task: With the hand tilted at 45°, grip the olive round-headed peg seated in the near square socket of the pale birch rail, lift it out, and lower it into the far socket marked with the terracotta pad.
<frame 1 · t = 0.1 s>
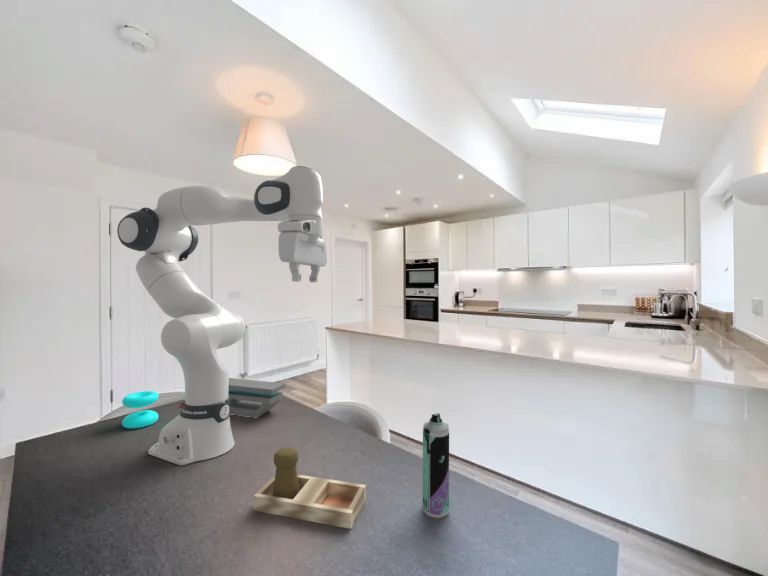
hand: (305, 281, 88), 48 cm above the table, tool pointing down, fingers open, 8 cm apart
socket rail: (311, 504, 71), on the table
spray can: (435, 510, 70), on the table
olive round-headed peg: (286, 500, 73), resting in socket rail
grey lidded container: (249, 413, 123), on the table
donuts: (140, 424, 113), on the table
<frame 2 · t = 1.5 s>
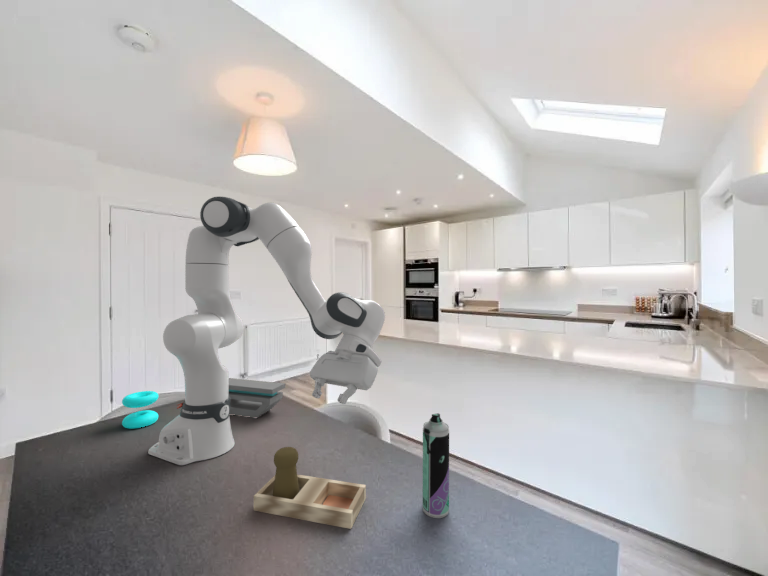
hand: (327, 399, 82), 19 cm above the table, tool tilted 45°, fingers open, 8 cm apart
nothing on the table moved.
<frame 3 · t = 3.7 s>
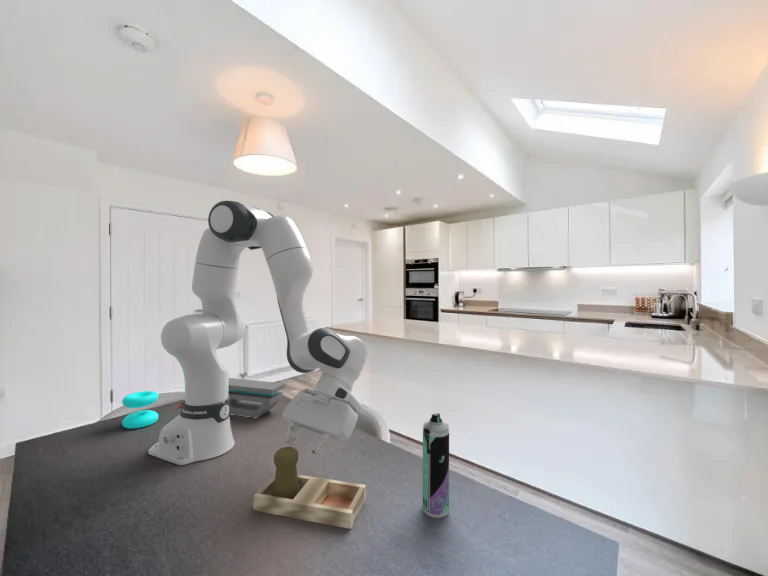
hand: (301, 448, 76), 10 cm above the table, tool tilted 45°, fingers open, 8 cm apart
nothing on the table moved.
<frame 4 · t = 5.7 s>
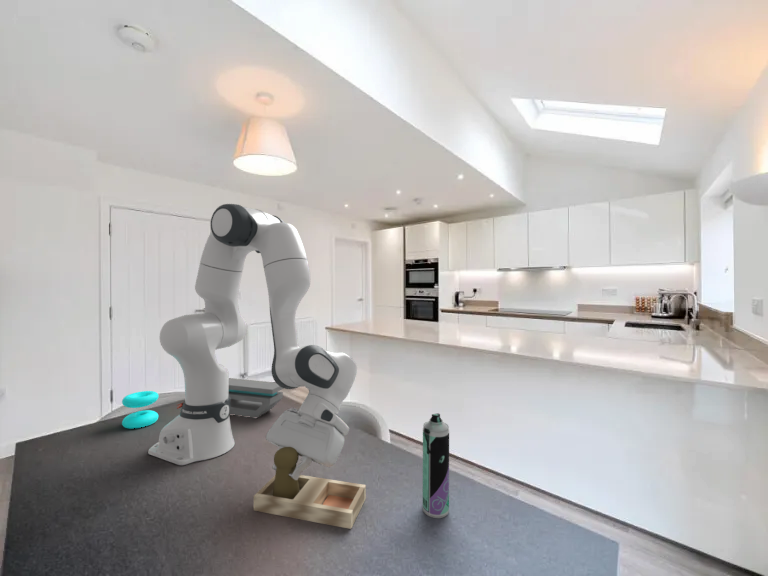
hand: (283, 474, 72), 6 cm above the table, tool tilted 45°, fingers closed on olive round-headed peg, 4 cm apart
olive round-headed peg: (286, 500, 73), resting in socket rail, touching gripper
everything else where it was.
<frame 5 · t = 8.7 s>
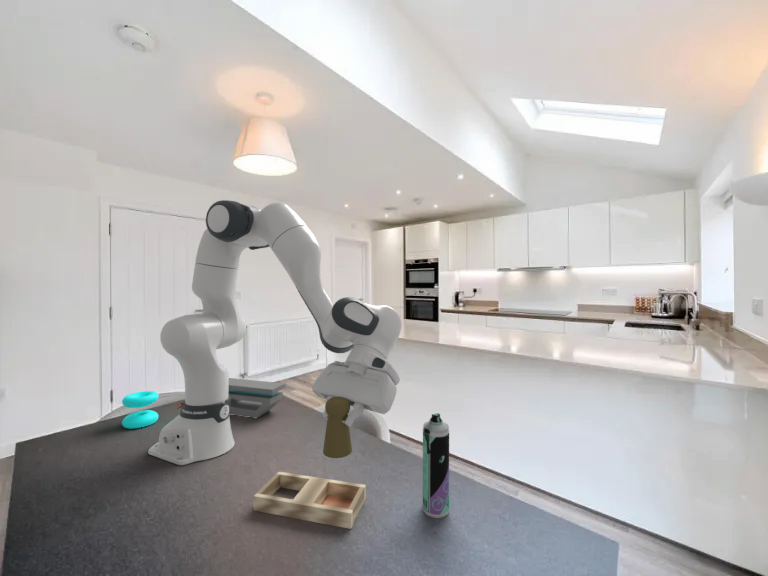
hand: (335, 422, 69), 18 cm above the table, tool tilted 45°, fingers closed on olive round-headed peg, 4 cm apart
olive round-headed peg: (337, 451, 70), point 12 cm above the table, touching gripper
everything else where it was.
when the fingers open (7 cm above the table, at t = 11.6 s): olive round-headed peg stays where it is, resting on socket rail.
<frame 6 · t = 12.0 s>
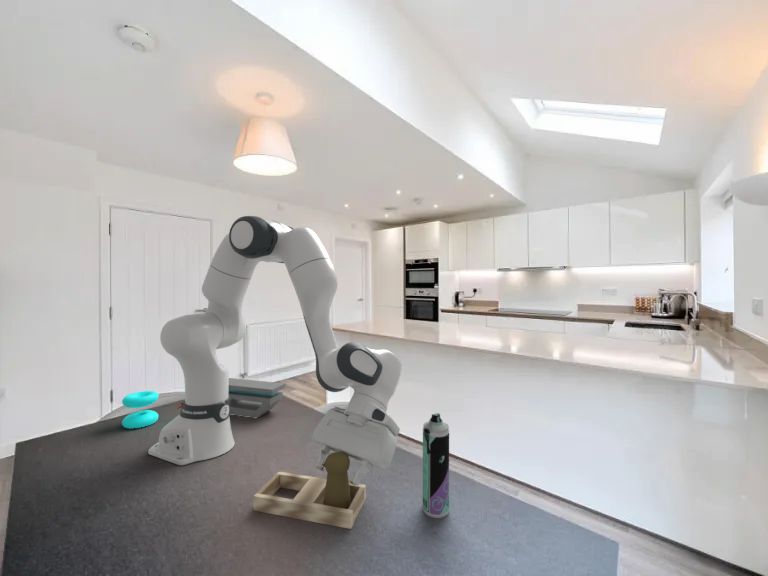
hand: (335, 476, 69), 7 cm above the table, tool tilted 45°, fingers open, 8 cm apart
olive round-headed peg: (337, 508, 70), resting on socket rail
everything else where it was.
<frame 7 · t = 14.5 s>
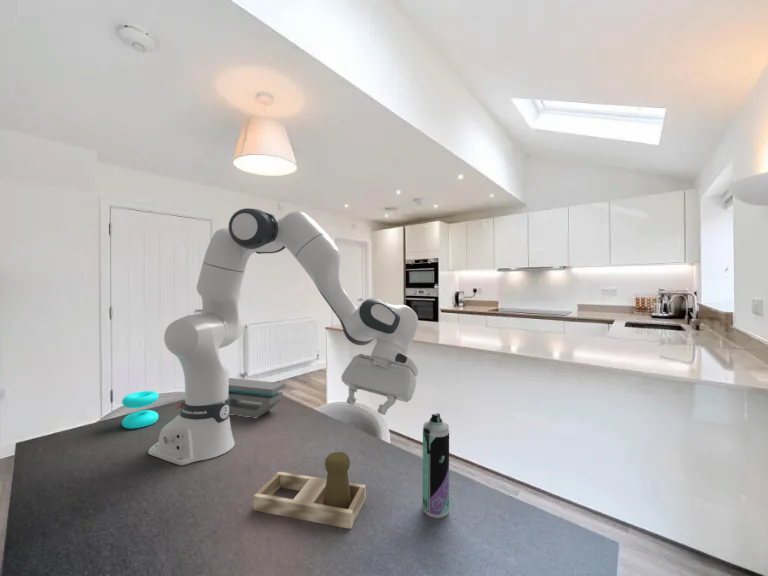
hand: (364, 408, 81), 17 cm above the table, tool tilted 40°, fingers open, 8 cm apart
nothing on the table moved.
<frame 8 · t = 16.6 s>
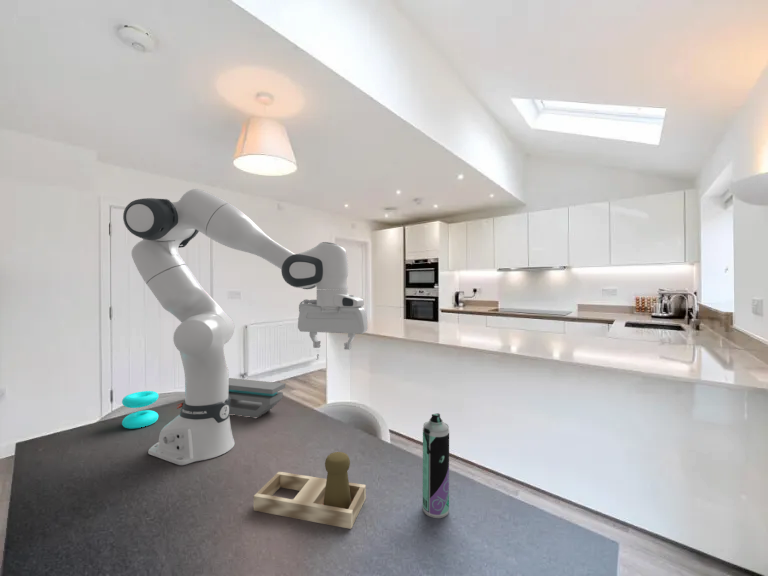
hand: (332, 348, 95), 29 cm above the table, tool pointing down, fingers open, 8 cm apart
nothing on the table moved.
at the end: olive round-headed peg 0.1 cm from the target spot on the socket rail, point 0.1 cm above the socket rail's base; olive round-headed peg tilted 0°; the gripper is holding nothing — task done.
